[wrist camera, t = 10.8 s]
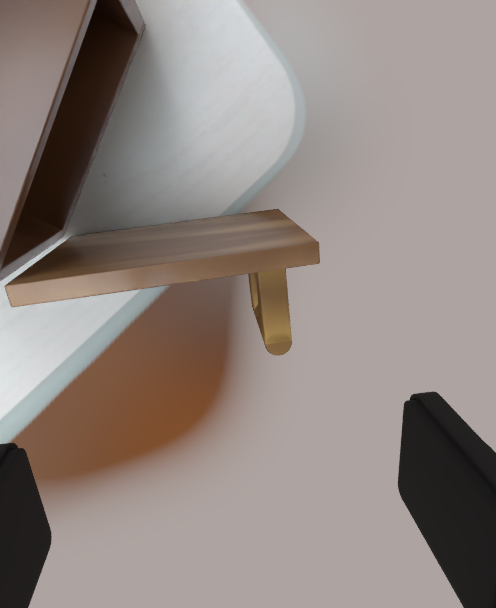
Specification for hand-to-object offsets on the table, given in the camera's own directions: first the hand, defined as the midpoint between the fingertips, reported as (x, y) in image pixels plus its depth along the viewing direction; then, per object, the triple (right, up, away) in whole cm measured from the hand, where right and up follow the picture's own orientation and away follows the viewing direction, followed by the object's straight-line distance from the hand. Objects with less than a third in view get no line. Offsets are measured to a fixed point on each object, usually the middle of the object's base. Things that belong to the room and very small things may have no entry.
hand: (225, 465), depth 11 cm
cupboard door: (-4, +6, +19) cm, 20 cm away
